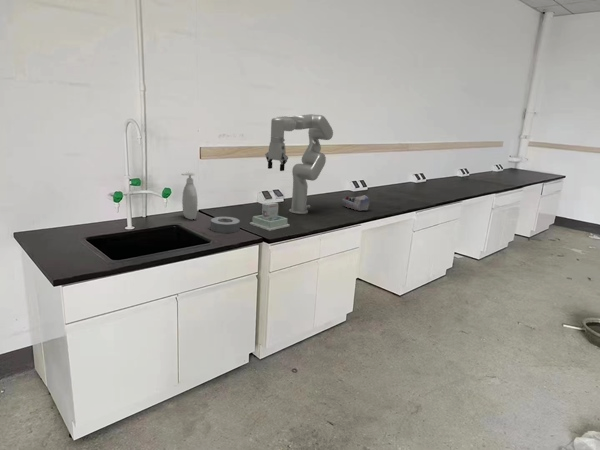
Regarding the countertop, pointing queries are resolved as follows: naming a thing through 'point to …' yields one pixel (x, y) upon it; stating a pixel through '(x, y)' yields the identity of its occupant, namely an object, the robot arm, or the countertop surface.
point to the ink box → (270, 211)
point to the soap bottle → (189, 198)
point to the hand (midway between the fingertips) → (275, 169)
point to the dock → (269, 223)
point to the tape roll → (225, 224)
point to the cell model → (356, 202)
